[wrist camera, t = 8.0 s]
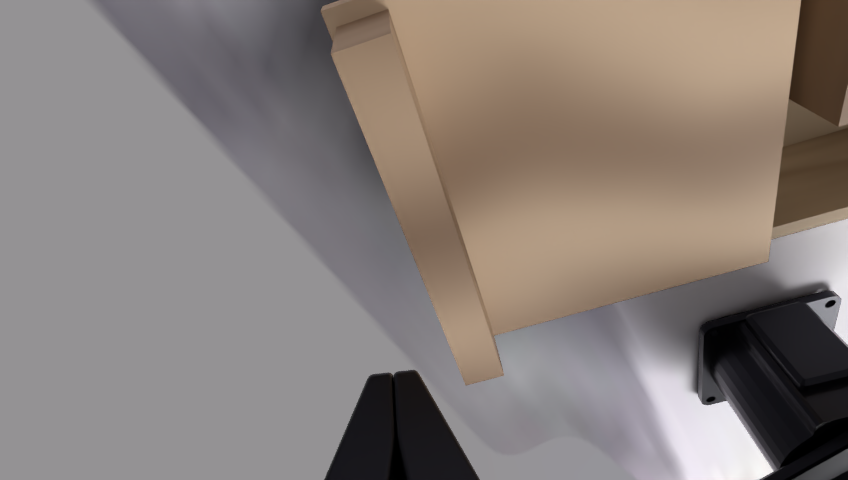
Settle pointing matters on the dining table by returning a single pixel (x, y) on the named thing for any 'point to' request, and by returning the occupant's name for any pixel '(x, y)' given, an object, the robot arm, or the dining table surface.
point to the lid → (568, 147)
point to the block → (822, 60)
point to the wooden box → (811, 173)
